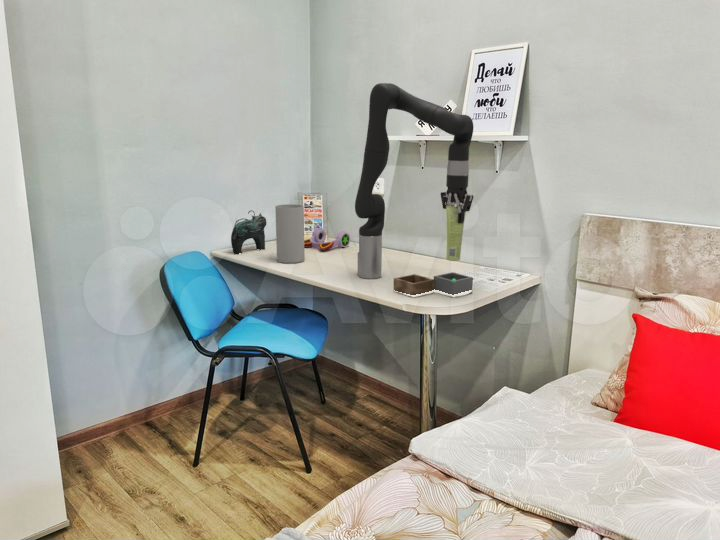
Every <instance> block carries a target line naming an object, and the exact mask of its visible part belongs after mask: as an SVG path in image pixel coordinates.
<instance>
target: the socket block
mask: <svg viewBox="0 0 720 540" xmlns="http://www.w3.org/2000/svg"><path fill="white" fill-rule="evenodd" d="M433 279H434V280H435V282H434V289H435V290H439V291H442V292H445V293H448V294H452V295H454V294H458V293H461V292H465V291H469V290H472V291H473V284H474V283H473V281H474V277H472V276H468V275H465V274H461V273H459V272H458V273H457V272H453V271H451V272H447V273H442V274H436V275H434V276H433Z"/></svg>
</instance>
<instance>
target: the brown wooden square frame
mask: <svg viewBox="0 0 720 540" xmlns="http://www.w3.org/2000/svg"><path fill="white" fill-rule="evenodd" d="M434 282H435V280H434V278H429V277H426V276H423V275H419V274H416V273H413V274H408V275H403V276H400V277H394V278H393V291H394V290H395V291H398V292H402V293H406V294H410V295H416V294H421V293H425V292H429V291H432V290H434Z"/></svg>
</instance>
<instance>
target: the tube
mask: <svg viewBox="0 0 720 540" xmlns="http://www.w3.org/2000/svg"><path fill="white" fill-rule="evenodd" d="M461 208H462V207H461ZM445 210H446V211H445V212H446V260H447V261H450V262H457V261H459V262H460V261H461V255H462V253H461V252H462V243H463V234H464V228H465V227H464V225H465V218H466V213H467V212H465V215H464V222H463V223H461V224H459V223H458V213H459V211H458V207H457V205H455V206H446V209H445Z"/></svg>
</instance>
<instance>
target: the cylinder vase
mask: <svg viewBox="0 0 720 540" xmlns="http://www.w3.org/2000/svg"><path fill="white" fill-rule="evenodd" d="M304 207H305V206H304V205H303V204H290V203H289V204H278V205H275V234H276V235H275V238H276V243H275V244H276V260H277V262H279V263H281V264H289V263H290V264H298V263H303V262H304V261H305V257H306V256H305V247H304V240H305V220H304V219H305V214H304V213H305V211H304V210H305V209H304Z"/></svg>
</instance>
